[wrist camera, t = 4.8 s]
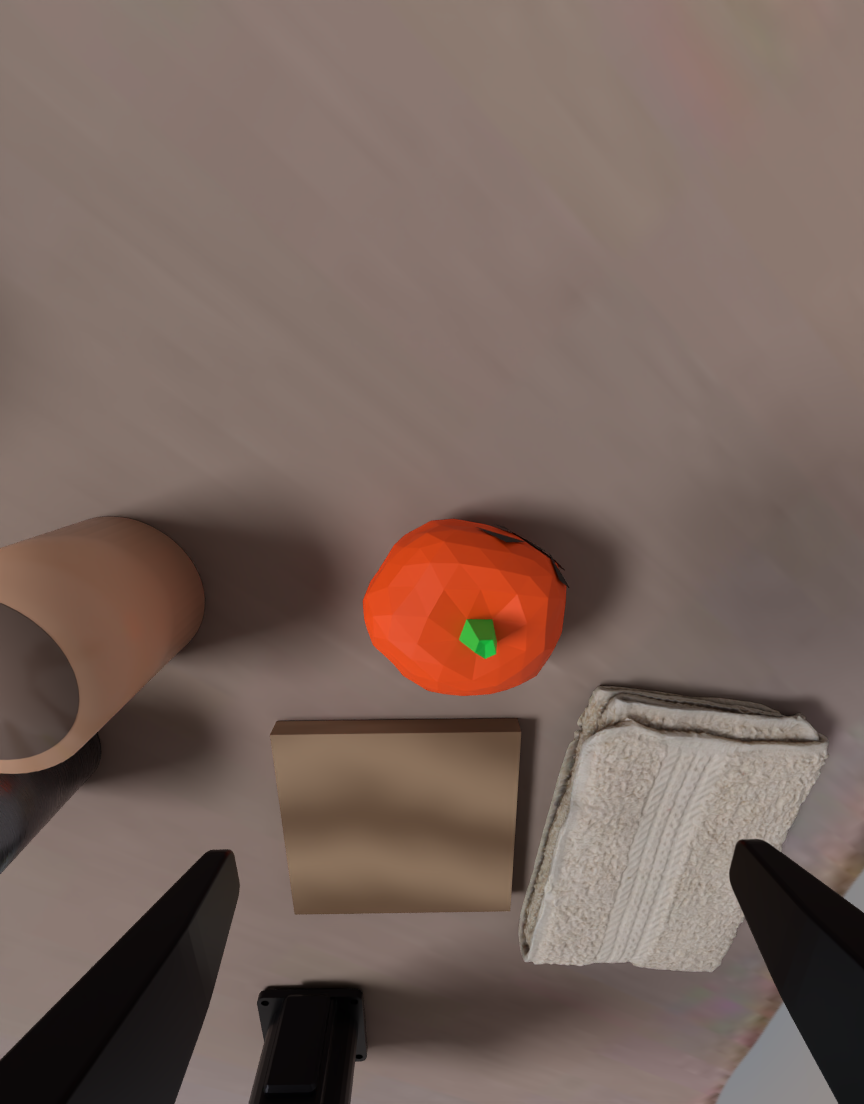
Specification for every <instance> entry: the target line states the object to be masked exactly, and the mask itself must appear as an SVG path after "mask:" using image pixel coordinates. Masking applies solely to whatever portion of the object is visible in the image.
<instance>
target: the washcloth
mask: <svg viewBox="0 0 864 1104" xmlns="http://www.w3.org/2000/svg"><path fill="white" fill-rule="evenodd" d="M577 724H578V726H579V727H581V728H582V730H577V731H576V732H575V733H574V737H575V738H574V741H572V742H571V743H570V744H569V746H568V749H567V751H566V756H565V758H564V762H563V764H562V767H561V770H560V773H559V777H558V780H557V784H556V789H555V792H554V795H553V799H552V802H551V806H550V810H549V813H548V816H547V820H546V825H545V827H544V830H543V834H542V838H541V842H540V845H539V849H538V853H537V857H536V860H535V865H534V871H533V873H532V876H531V880H530V884H529V886H528V889H527V892H526V896H525V899H524V903H523V906H522V910H521V914H520V921H519V943H520V951H521V954H522V957H523V960H524V961H525V962H531V961H532V962H533V963H534V964H544V963H549V964H554V963H556V964H559V965H563V964H566V965H568V966H569V965H570V964H572V965H574V964H575V965H577V966H583V965H588V964H592V963H603V962H606V963H616V962H619V963H625V962H628V961H629V962H631V963H632V964H633V965H634V966H637V967H640V968H642V967H646V968H652V969H657V970H658V969H664V970H668V969H669V970H673V971H677V970H680V971H692V972H697V971H702V972H703V971H708V972H712V971H714V970H715V969H716V968H717V967H718V966H720V965H721V961H722V958H723V957H724V956H725V954H726V953H727V951H728V950H729V947H730V946H731V943H733V938H734V937H736V931H737V927H739V924H740V923H741V922H743V920H744V917H745V916H744V914H743V912H742V910H741V907H740V905H739V903H738V901H737V898H736V896H735V894H734V892H733V889H732V887H731V884H730V879H729V869H730V865H731V861H732V857H733V853H734V849H735V845H736V843H737V842H738V841H739V840H741V839H761V840H764V841H766V842H768V843H769V844H771V845H772V846H773V847H775V848H776V849H777V850H779V851H780V852H781V851H782V843H783V842H784V841H785V840H786V836H787V832H788V829H789V828H790V827H791V825H792V823H793V822H794V820H795V818H796V816H797V813H798V812H799V808H800V805H801V803H802V802H804V801H805V800H806V797H807V795H808V794H809V793H810V790H811V788H812V786H813V785H814V784H815V783H816V779H818V776H819V775H820V773H821V772H820V769H821V767H822V766H823V765H825V759H826V758H827V757H829V755H828V754H827V747H828V743H829V742H828V739H827V737H826V736H824V735H822V734H820V733H818V732H817V731H816V730H815V729H814V728H813V727H812V726H811V724H810V723H808V722H807V721H806V718H805V716H804V715H802V714H801V713H797V714H795V715H793V716H789V717H788V716H784V715H781V713H780V712H779V711H776V710H772V709H770V708H769V707H767V706H764V705H762V704H757V703H752V702H745V701H738V700H731V699H723V698H712V697H688V696H682V695H677V694H671V693H664V692H659V691H647V690H641V689H630V688H624V687H614V686H599V687H597V688H596V689H595V690H594V691H593V695H592V696H591V698H590V699H589V706H588V707H587V708H585V711H584V713H582V715H581V717H580V718H579V720H578V723H577ZM577 739H578V740H577ZM573 756H576V757H575V758H573Z"/></svg>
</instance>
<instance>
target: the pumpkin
mask: <svg viewBox="0 0 864 1104" xmlns="http://www.w3.org/2000/svg"><path fill="white" fill-rule="evenodd" d="M498 526H499V525H498ZM500 527H502V526H500ZM502 528H505V527H502ZM505 529H507V528H505ZM507 530H508V529H507ZM543 551H544V550H543ZM543 551H542V549H541V548H539V547H537V546H536V545H534V544H533V543H531V542H529V541H528V540H525V539H523V538H522V537H520V536H518V535H516V534H515V533H513V532H512V533H511V532H508V531H505V530H502V529H499V528H496V527H493V526H490V525H486V524H480V523H475V522H470V521H464V520H459V519H445V520H434V521H430V522H428V523H426V524H424V525H422V526H421V527H419V528H417V529H415V530H413V531H411V532H409V533H408V534H406V535H404V536H403V537H402V538H401V539H400V540H399V541H398V542H397V543H396V544H395V545H394V546H393V548H392V549H391V551H390V553H389V554H388V556H387V557H386V559H385V561H384V562H383V564H382V565H381V567H380V569H379V570H378V572H377V573H376V575H375V576H374V577H373V579H372V580H371V582H370V584H369V586H368V589H367V591H366V594H365V597H364V599H363V609H364V620H365V624H366V627H367V630H368V633H369V635H370V638H371V641H372V643H373V645H374V646H375V647H376V648H377V649H378V650H379V651H380V652H381V653H382V654H383V655H384V656H386V657H387V658H388V659H389V660H390V661H391V662H392V663H393V664H394V665H395V666H396V668H397V669H398V670H399V671H400V672H401V674H402V675H403V676H405V677H406V678H408V679H409V680H411V681H413V682H414V683H416V684H418V685H419V686H421V687H423V688H424V689H426V690H428V691H432V692H437V693H442V694H449V695H459V696H469V695H484V694H492V693H496V692H500V691H504V690H508V689H510V688H513V687H515V686H518V685H520V684H522V683H524V682H526V681H528V680H529V679H531V678H533V677H535V676H537V674H538V673H539V671H540V670H541V668H542V667H543V666H544V664H545V663H546V661H547V660H548V658H549V657H550V655H551V654H552V652H553V650H554V648H555V646H556V644H557V642H558V640H559V638H560V636H561V633H562V627H563V619H564V611H565V603H566V586H567V587H568V588H569V586H568V585H567V583H566V581H565V579H564V578H563V576H562V574H561V572H560V570H559V568H558V566H559V567H560V568H562V567H561V566H560V565H559V564H558V563H557V562H556V561H555V560H554V559H553V558H552V557H550V556H551V555H550V556H548V555H547V554H546V553H544V552H543ZM549 554H550V553H549ZM562 569H563V568H562Z"/></svg>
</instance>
